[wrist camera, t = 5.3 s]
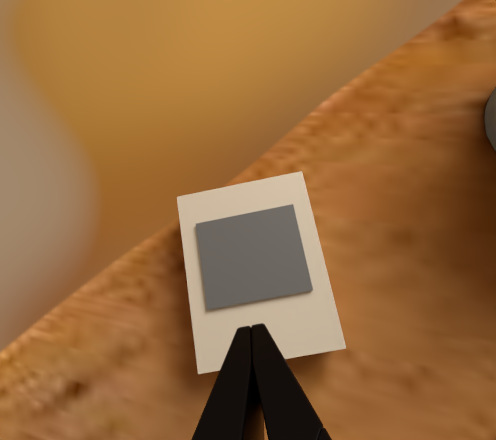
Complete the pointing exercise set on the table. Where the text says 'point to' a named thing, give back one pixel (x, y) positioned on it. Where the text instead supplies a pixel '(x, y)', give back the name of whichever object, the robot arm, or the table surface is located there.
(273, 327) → the white box grey panel
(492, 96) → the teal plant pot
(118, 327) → the table surface
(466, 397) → the table surface
